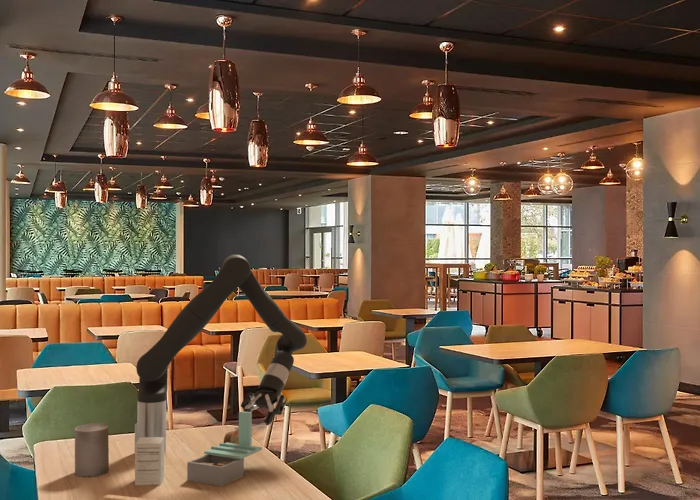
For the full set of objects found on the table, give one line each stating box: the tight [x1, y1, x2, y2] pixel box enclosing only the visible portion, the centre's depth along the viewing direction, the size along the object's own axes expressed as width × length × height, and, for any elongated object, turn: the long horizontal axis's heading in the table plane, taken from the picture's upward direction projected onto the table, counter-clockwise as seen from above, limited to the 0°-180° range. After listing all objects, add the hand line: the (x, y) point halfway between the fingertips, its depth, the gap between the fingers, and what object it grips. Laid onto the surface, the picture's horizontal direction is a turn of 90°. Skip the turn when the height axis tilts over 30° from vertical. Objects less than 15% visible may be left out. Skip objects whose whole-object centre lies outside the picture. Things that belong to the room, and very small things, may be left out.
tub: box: [186, 454, 245, 487], centre depth 223 cm, size 12×11×6 cm
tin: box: [223, 426, 239, 444], centre depth 251 cm, size 15×3×8 cm, turn 168°
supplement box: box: [134, 437, 165, 486], centre depth 219 cm, size 7×7×13 cm
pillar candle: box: [74, 422, 110, 477], centre depth 230 cm, size 10×10×15 cm
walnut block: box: [217, 461, 231, 466], centre depth 223 cm, size 4×4×4 cm
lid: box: [203, 410, 263, 459], centre depth 231 cm, size 13×13×11 cm
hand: (254, 422), depth 241 cm, fingers open, 8 cm apart
